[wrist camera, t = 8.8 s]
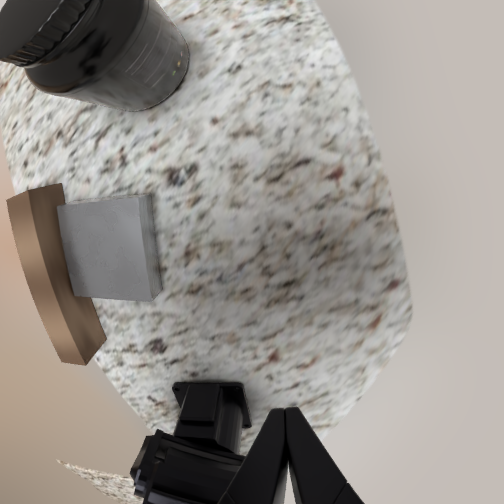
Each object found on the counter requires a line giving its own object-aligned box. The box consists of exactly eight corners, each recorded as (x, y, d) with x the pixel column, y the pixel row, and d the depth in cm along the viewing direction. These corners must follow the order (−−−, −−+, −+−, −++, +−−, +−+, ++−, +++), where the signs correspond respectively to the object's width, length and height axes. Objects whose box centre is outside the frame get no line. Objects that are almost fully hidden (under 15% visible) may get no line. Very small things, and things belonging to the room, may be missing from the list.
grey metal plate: (163, 286, 20) (152, 301, 18) (90, 283, 21) (74, 295, 18) (153, 192, 18) (138, 197, 16) (76, 200, 19) (56, 206, 16)
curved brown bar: (106, 339, 22) (85, 365, 18) (83, 337, 22) (61, 362, 18) (61, 183, 18) (27, 190, 14) (38, 191, 18) (6, 200, 14)
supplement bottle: (92, 108, 16) (-41, 92, 5) (121, 28, 14) (20, -39, 2) (174, 120, 16) (47, 79, 5) (205, 31, 14) (139, -83, 3)
